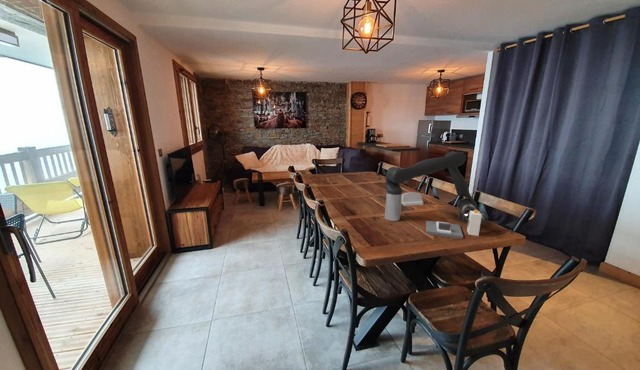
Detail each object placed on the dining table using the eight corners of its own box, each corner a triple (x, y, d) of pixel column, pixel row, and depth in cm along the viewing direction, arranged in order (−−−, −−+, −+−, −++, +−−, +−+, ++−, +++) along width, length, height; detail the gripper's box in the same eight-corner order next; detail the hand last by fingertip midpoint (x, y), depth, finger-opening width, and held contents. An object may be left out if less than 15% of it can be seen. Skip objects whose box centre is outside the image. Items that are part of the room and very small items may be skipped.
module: (468, 234, 137) (472, 211, 134) (467, 230, 143) (470, 207, 139) (478, 235, 135) (482, 212, 132) (476, 231, 141) (479, 208, 137)
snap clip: (438, 228, 139) (439, 223, 138) (438, 227, 141) (438, 222, 140) (449, 230, 137) (450, 225, 136) (449, 228, 139) (450, 223, 138)
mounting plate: (426, 233, 139) (426, 229, 138) (426, 222, 153) (426, 219, 153) (462, 238, 132) (463, 235, 132) (459, 227, 147) (459, 223, 146)
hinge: (403, 206, 184) (401, 192, 184) (400, 206, 188) (398, 192, 189) (424, 204, 186) (422, 191, 187) (420, 204, 191) (419, 191, 192)
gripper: (457, 204, 152) (460, 213, 138) (484, 207, 147) (491, 217, 133) (455, 216, 154) (459, 226, 140) (482, 219, 149) (489, 230, 134)
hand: (474, 221), depth 136 cm, fingers open, 8 cm apart
